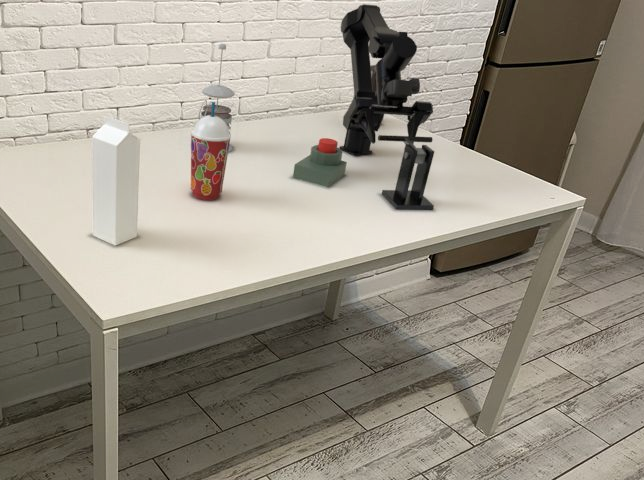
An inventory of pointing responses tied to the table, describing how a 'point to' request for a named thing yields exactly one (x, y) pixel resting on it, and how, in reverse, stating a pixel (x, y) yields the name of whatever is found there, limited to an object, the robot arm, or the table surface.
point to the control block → (320, 167)
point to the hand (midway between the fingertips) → (392, 144)
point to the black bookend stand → (414, 197)
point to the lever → (409, 140)
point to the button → (327, 145)
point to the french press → (217, 92)
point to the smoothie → (209, 156)
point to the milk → (115, 182)
